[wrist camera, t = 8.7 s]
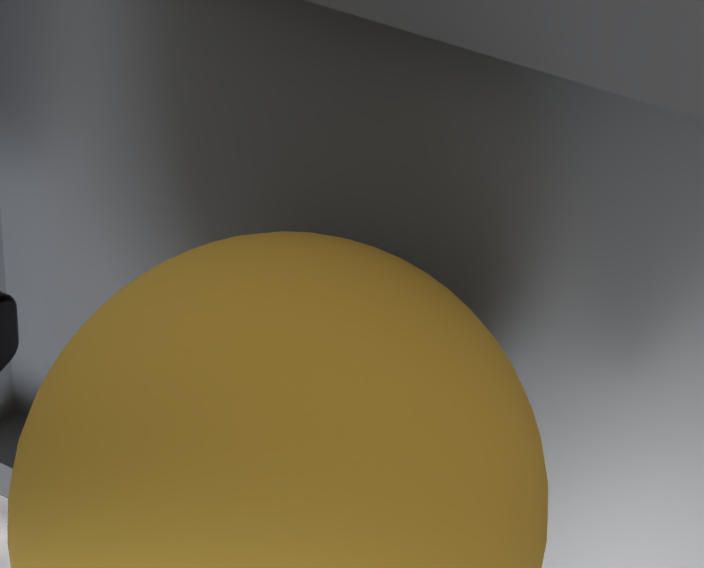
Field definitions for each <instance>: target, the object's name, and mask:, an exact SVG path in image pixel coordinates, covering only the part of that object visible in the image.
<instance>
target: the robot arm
mask: <svg viewBox="0 0 704 568" xmlns="http://www.w3.org/2000/svg"><path fill="white" fill-rule="evenodd" d="M18 345H19V331H18V314H17V304H16V301H15V300H14V298H13V297H12V296H11V295H9V294H6V293H4V292H2V291H0V372H1V371H2V370H3V369H4V368H5V366H6V365H7V364H8V363H9V362H10V361H11V360H12V358H13V357H14V355H15V354H16V352H17V349H18Z"/></svg>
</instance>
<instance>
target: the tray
mask: <svg viewBox="0 0 704 568" xmlns="http://www.w3.org/2000/svg"><path fill="white" fill-rule="evenodd" d="M279 231H289V232H311V233H317V234H323V235H329V236H335V237H341V238H345V239H350V240H353V241H356V242H360V243H363V244H367V245H370V246H373V247H376V248H378V249H381V250H383V251H385V252H388V253H390V254H392V255H395V256H397V257H399V258H402V259H403V260H405V261H407V262H409V263H410V264H412V265H414V266H416V267H417V268H419V269H421V270H423V271H424V272H426V273H427V274H429V275H430V276H432V277H433V278H434V279H436V280H437V281H438V282H440V283H441V284H442V285H444V286H445V287H446V288H448V289H449V290H450V291H451V292H452V293H454V294H455V295H456V296H457V297H458V298H459V299H460V300H461V301H462V302H463V303H464V304H465V305H466V306H467V307H469V308H470V309H471V310H472V312H473V313H474V314H475V315H476V316H477V317H478V319H479V320H480V321H481V322H482V323H483V324H484V326H485V327H486V328H487V329H488V330H489V332H490V333H491V334H492V335H493V336H494V338H495V339H496V340H497V342H498V343H499V345H500V346H501V348H502V349H503V351H504V352H505V354H506V355H507V357H508V359H509V360H510V362H511V363H512V365H513V367H514V369H515V371H516V373H517V375H518V378H519V380H520V382H521V384H522V386H523V388H524V390H525V393H526V395H527V397H528V400H529V402H530V404H531V407H532V409H533V413H534V416H535V419H536V423H537V426H538V429H539V433H540V436H541V441H542V447H543V453H544V458H545V465H546V473H547V480H548V525H547V543H546V548H545V553H544V558H543V563H542V568H704V0H0V291H2V292H4V293H6V294H9V295H11V296H12V297H13V298H14V300H15V301H16V304H17V314H18V331H19V345H18V349H17V352H16V354H15V355H14V357H13V358H12V360H11V361H10V362H9V363H8V364H7V365H6V366H5V368H4V369H3V370H2V371H1V372H0V495H2V496H4V497H6V498H8V492H9V487H10V482H11V476H12V471H13V466H14V461H15V456H16V451H17V445H18V441H19V438H20V435H21V433H22V430H23V427H24V424H25V422H26V419H27V416H28V414H29V411H30V409H31V406H32V404H33V401H34V399H35V396H36V394H37V392H38V390H39V388H40V386H41V384H42V383H43V381H44V379H45V377H46V376H47V374H48V372H49V370H50V369H51V367H52V365H53V364H54V362H55V361H56V359H57V358H58V356H59V355H60V353H61V352H62V350H63V349H64V347H65V346H66V345H67V343H68V342H69V341H70V340H71V338H72V337H73V336H74V335H75V333H76V332H77V331H78V330H79V329H80V327H81V326H82V325H83V324H84V322H85V321H87V320H88V319H89V318H90V317H91V316H92V315H93V314H94V313H95V312H96V311H97V310H98V309H99V308H100V307H101V306H102V305H103V304H104V303H105V302H106V301H108V300H109V299H110V298H111V297H112V296H113V295H114V294H116V293H117V292H118V291H119V290H120V289H121V288H122V287H124V286H126V285H127V284H129V283H130V282H132V281H133V280H135V279H136V278H138V277H139V276H141V275H142V274H144V273H145V272H147V271H149V270H150V269H152V268H154V267H155V266H157V265H159V264H160V263H162V262H164V261H165V260H168V259H170V258H172V257H175V256H177V255H179V254H182V253H184V252H186V251H189V250H191V249H194V248H197V247H199V246H202V245H205V244H208V243H211V242H215V241H219V240H223V239H227V238H231V237H235V236H241V235H249V234H258V233H268V232H279Z"/></svg>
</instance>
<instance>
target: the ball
mask: <svg viewBox="0 0 704 568" xmlns="http://www.w3.org/2000/svg"><path fill="white" fill-rule="evenodd" d="M547 525H548V480H547V473H546V465H545V458H544V453H543V447H542V441H541V436H540V433H539V429H538V426H537V423H536V419H535V416H534V413H533V409H532V407H531V404H530V402H529V400H528V397H527V395H526V393H525V390H524V388H523V386H522V384H521V382H520V380H519V378H518V375H517V373H516V371H515V369H514V367H513V365H512V363H511V362H510V360H509V359H508V357H507V355H506V354H505V352H504V351H503V349H502V348H501V346H500V345H499V343H498V342H497V340H496V339H495V338H494V336H493V335H492V334H491V333H490V332H489V330H488V329H487V328H486V327H485V326H484V324H483V323H482V322H481V321H480V320H479V319H478V317H477V316H476V315H475V314H474V313H473V312H472V310H471V309H470V308H469V307H467V306H466V305H465V304H464V303H463V302H462V301H461V300H460V299H459V298H458V297H457V296H456V295H455V294H454V293H452V292H451V291H450V290H449V289H448V288H446V287H445V286H444V285H442V284H441V283H440V282H438V281H437V280H436V279H434V278H433V277H432V276H430V275H429V274H427V273H426V272H424V271H423V270H421V269H419V268H417V267H416V266H414V265H412V264H410V263H409V262H407V261H405V260H403V259H402V258H399V257H397V256H395V255H392V254H390V253H388V252H385V251H383V250H381V249H378V248H376V247H373V246H370V245H367V244H363V243H360V242H356V241H353V240H350V239H345V238H341V237H335V236H329V235H323V234H317V233H311V232H289V231H279V232H268V233H258V234H249V235H241V236H235V237H231V238H227V239H223V240H219V241H215V242H211V243H208V244H205V245H202V246H199V247H197V248H194V249H191V250H189V251H186V252H184V253H182V254H179V255H177V256H175V257H172V258H170V259H168V260H165V261H164V262H162V263H160V264H159V265H157V266H155V267H154V268H152V269H150V270H149V271H147V272H145V273H144V274H142V275H141V276H139V277H138V278H136V279H135V280H133V281H132V282H130V283H129V284H127V285H126V286H124V287H122V288H121V289H120V290H119V291H118V292H117V293H116V294H114V295H113V296H112V297H111V298H110V299H109V300H108V301H106V302H105V303H104V304H103V305H102V306H101V307H100V308H99V309H98V310H97V311H96V312H95V313H94V314H93V315H92V316H91V317H90V318H89V319H88V320H87V321H85V322H84V324H83V325H82V326H81V327H80V329H79V330H78V331H77V332H76V333H75V335H74V336H73V337H72V338H71V340H70V341H69V342H68V343H67V345H66V346H65V347H64V349H63V350H62V352H61V353H60V355H59V356H58V358H57V359H56V361H55V362H54V364H53V365H52V367H51V369H50V370H49V372H48V374H47V376H46V377H45V379H44V381H43V383H42V384H41V386H40V388H39V390H38V392H37V394H36V396H35V399H34V401H33V404H32V406H31V409H30V411H29V414H28V416H27V419H26V422H25V424H24V427H23V430H22V433H21V435H20V438H19V441H18V445H17V451H16V456H15V461H14V466H13V471H12V476H11V482H10V487H9V492H8V550H9V556H10V562H11V568H542V563H543V558H544V553H545V548H546V543H547Z"/></svg>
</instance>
